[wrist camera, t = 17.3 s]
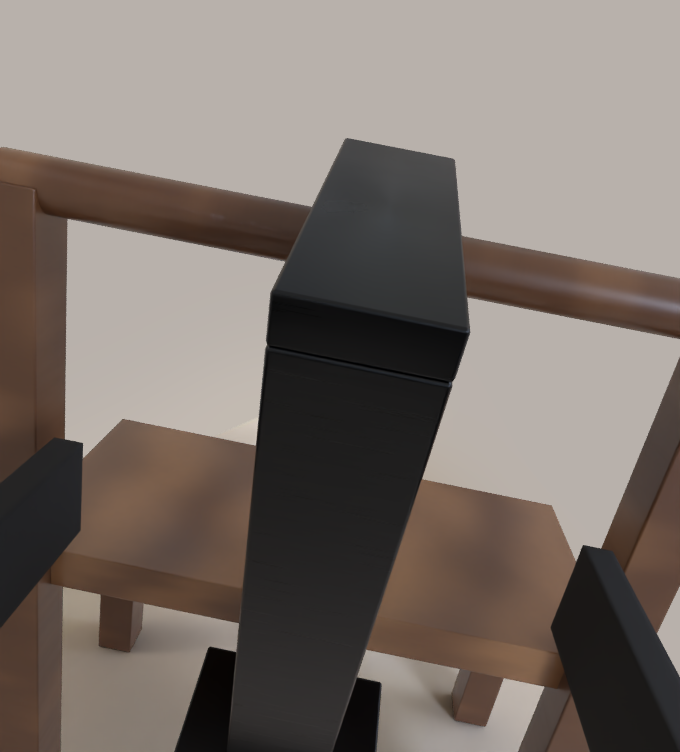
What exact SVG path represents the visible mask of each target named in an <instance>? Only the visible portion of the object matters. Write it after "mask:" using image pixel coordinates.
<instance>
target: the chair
mask: <svg viewBox="0 0 680 752" xmlns="http://www.w3.org/2000/svg"><path fill="white" fill-rule="evenodd" d="M311 208H312V207H309V206H304V205H299V204H294V203H289V202H284V201H279V200H274V199H268V198H263V197H258V196H252V195H248V194H243V193H238V192H232V191H227V190H222V189H217V188H212V187H207V186H202V185H197V184H191V183H186V182H181V181H175V180H171V179H165V178H160V177H155V176H150V175H145V174H140V173H135V172H130V171H125V170H119V169H114V168H109V167H103V166H99V165H93V164H88V163H83V162H78V161H73V160H67V159H63V158H58V157H52V156H47V155H42V154H36V153H32V152H27V151H22V150H16V149H11V148H6V147H1V148H0V483H1V482H2V481H3V480H5V479H6V478H7V477H8V476H9V475H10V474H12V473H13V472H14V471H15V470H16V469H18V468H19V467H20V466H21V465H22V464H23V463H25V462H26V461H27V460H28V459H29V458H30V457H32V456H33V455H34V454H35V453H36V452H37V451H39V450H40V449H41V448H42V447H43V446H45V445H46V444H47V443H48V442H49V441H50V440H52V439H53V438H54V437H55V438H60V439H65V366H66V361H65V360H66V284H67V283H66V282H67V219H71V220H76V221H81V222H87V223H92V224H97V225H102V226H107V227H112V228H117V229H122V230H127V231H132V232H137V233H142V234H147V235H153V236H158V237H163V238H168V239H173V240H178V241H183V242H188V243H194V244H198V245H204V246H209V247H214V248H219V249H224V250H229V251H234V252H239V253H244V254H250V255H255V256H260V257H264V258H270V259H275V260H280V261H285V262H286V260H287V258H288V256H289V254H290V251H291V249H292V247H293V245H294V243H295V241H296V239H297V237H298V235H299V233H300V231H301V229H302V227H303V225H304V223H305V221H306V218H307V216H308V214H309V212H310V210H311ZM462 246H463V257H464V268H465V280H466V291H467V297H468V298H473V299H478V300H484V301H489V302H494V303H499V304H504V305H509V306H514V307H519V308H524V309H529V310H535V311H540V312H545V313H550V314H555V315H560V316H565V317H570V318H575V319H580V320H586V321H590V322H596V323H601V324H606V325H611V326H616V327H621V328H626V329H631V330H637V331H641V332H647V333H652V334H657V335H662V336H667V337H672V338H677V339H680V278H675V277H669V276H664V275H659V274H654V273H649V272H644V271H638V270H633V269H628V268H623V267H618V266H613V265H608V264H603V263H597V262H592V261H587V260H582V259H577V258H572V257H567V256H561V255H556V254H551V253H546V252H541V251H535V250H531V249H525V248H520V247H515V246H510V245H505V244H499V243H495V242H490V241H484V240H479V239H474V238H469V237H464V236H462ZM255 452H256V446H254V445H249V444H244V443H239V442H234V441H229V440H224V439H220V438H215V437H210V436H205V435H199V434H195V433H190V432H185V431H180V430H175V429H170V428H165V427H160V426H155V425H150V424H145V423H140V422H135V421H130V420H125V419H122V420H121V421H120V422H119V424H117V425H116V426H115V427H114V429H112V430H111V431H110V432H109V433H108V434H107V435H106V436H105V437H104V438H103V439H102V440H101V441H100V442H99V443H98V444H97V445H96V446H95V447H94V448H93V449H92V450H91V451H90V452H89V453H88V454H87V455H86V456H85V457H84V458H83V461H82V501H81V531H80V532H79V533H78V534H77V536H76V537H75V538H74V539H73V541H72V542H71V543H70V544H69V545H68V547H67V548H66V549H65V550H64V552H63V553H62V554H61V555H60V556H59V558H58V559H57V560H56V561H55V562H54V564H53V565H52V566H51V567H50V569H49V570H48V571H47V572H46V573H45V575H44V576H43V577H42V578H41V580H40V581H39V582H38V583H37V584H36V586H35V587H34V588H33V589H32V590H31V592H30V593H29V594H28V595H27V597H26V598H25V599H24V600H23V601H22V603H21V604H20V605H19V606H18V608H17V609H16V610H15V611H14V612H13V614H12V615H11V616H10V617H9V619H8V620H7V621H6V622H5V623H4V625H3V626H2V627H1V628H0V752H61V693H62V611H63V587H67V588H72V589H77V590H82V591H86V592H91V593H96V594H101V603H100V627H99V646H102V647H107V648H111V649H116V650H121V651H126V652H130V650H131V648H132V646H133V645H134V643H135V641H136V639H137V637H138V635H139V633H140V631H141V629H142V619H143V605H144V604H149V605H154V606H159V607H164V608H168V609H173V610H178V611H183V612H188V613H193V614H197V615H202V616H207V617H212V618H217V619H221V620H226V621H231V622H236V623H239V619H240V609H241V598H242V588H243V577H244V567H245V556H246V546H247V535H248V525H249V515H250V504H251V494H252V483H253V473H254V462H255ZM601 549H605V550H610V551H613V553H614V554H615V556H616V558H617V560H618V562H619V564H620V566H621V568H622V569H623V571H624V573H625V575H626V577H627V579H628V581H629V583H630V585H631V586H632V588H633V590H634V592H635V594H636V596H637V598H638V600H639V601H640V603H641V605H642V607H643V609H644V611H645V613H646V615H647V617H648V618H649V620H650V622H651V624H652V626H653V628H654V630H655V632H656V633H657V632H658V630H659V628H660V626H661V624H662V622H663V620H664V617H665V615H666V613H667V611H668V609H669V607H670V605H671V603H672V601H673V599H674V596H675V595H676V593H677V591H678V588H679V586H680V358H679V360H678V363H677V365H676V368H675V370H674V372H673V375H672V377H671V380H670V382H669V385H668V387H667V390H666V392H665V394H664V397H663V399H662V402H661V404H660V407H659V409H658V412H657V414H656V416H655V419H654V421H653V424H652V426H651V429H650V431H649V433H648V436H647V439H646V441H645V443H644V446H643V448H642V451H641V453H640V455H639V458H638V460H637V463H636V465H635V468H634V470H633V473H632V475H631V477H630V480H629V483H628V485H627V488H626V490H625V493H624V494H623V497H622V500H621V502H620V504H619V507H618V509H617V512H616V514H615V516H614V519H613V521H612V524H611V526H610V529H609V531H608V534H607V536H606V538H605V541H604V543H603V546H602V548H601ZM575 564H576V561H575V558H574V556H573V554H572V551H571V549H570V547H569V545H568V542H567V540H566V538H565V536H564V533H563V531H562V528H561V526H560V524H559V521H558V519H557V517H556V514H555V512H554V510H553V507H552V506H551V505H546V504H541V503H536V502H531V501H526V500H521V499H517V498H511V497H506V496H502V495H497V494H492V493H487V492H482V491H477V490H472V489H467V488H462V487H457V486H452V485H447V484H442V483H437V482H432V481H427V480H421V483H420V487H419V490H418V493H417V496H416V499H415V502H414V505H413V508H412V511H411V514H410V517H409V520H408V523H407V526H406V529H405V532H404V535H403V538H402V541H401V544H400V547H399V551H398V554H397V557H396V560H395V563H394V566H393V569H392V572H391V575H390V578H389V581H388V584H387V587H386V590H385V593H384V596H383V599H382V602H381V605H380V608H379V611H378V615H377V618H376V621H375V624H374V627H373V630H372V633H371V636H370V639H369V642H368V645H367V648H366V650H371V651H376V652H381V653H385V654H390V655H395V656H400V657H405V658H409V659H414V660H419V661H424V662H429V663H434V664H438V665H443V666H448V667H453V668H458V669H460V670H459V673H458V676H457V679H456V682H455V685H454V688H453V691H452V702H453V712H454V720H456V721H461V722H466V723H471V724H475V725H480V726H486V724H487V722H488V719H489V716H490V714H491V711H492V708H493V706H494V703H495V700H496V698H497V695H498V692H499V689H500V687H501V684H502V681H503V679H504V678H506V679H511V680H516V681H520V682H525V683H530V684H535V685H540V686H544V690H543V692H542V695H541V697H540V699H539V702H538V704H537V707H536V709H535V712H534V714H533V717H532V719H531V721H530V724H529V726H528V729H527V731H526V734H525V736H524V738H523V741H522V743H521V746H520V748H519V751H518V752H590V751H589V747H588V744H587V741H586V738H585V735H584V732H583V729H582V725H581V722H580V719H579V716H578V713H577V710H576V707H575V703H574V700H573V697H572V694H571V691H570V688H569V685H568V681H567V678H566V675H565V672H564V669H563V666H562V663H561V659H560V656H559V653H558V650H557V647H556V644H555V640H554V637H553V634H552V631H551V628H550V627H551V625H552V622H553V619H554V617H555V614H556V612H557V609H558V607H559V604H560V602H561V599H562V597H563V594H564V592H565V589H566V587H567V584H568V582H569V579H570V577H571V574H572V572H573V569H574V567H575Z"/></svg>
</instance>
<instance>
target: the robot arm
mask: <svg viewBox="0 0 680 752" xmlns="http://www.w3.org/2000/svg"><path fill="white" fill-rule="evenodd" d="M82 461H83V443H79V442H75V441H70V440H65V439H60V438H55V437H54V438H53V439H52V440H50V441H49V442H48V443H47V444H46V445H45V446H43V447H42V448H41V449H40V450H39V451H37V452H36V453H35V454H34V455H33V456H32V457H30V458H29V459H28V460H27V461H26V462H25V463H23V464H22V465H21V466H20V467H19V468H18V469H16V470H15V471H14V472H13V473H12V474H10V475H9V476H8V477H7V478H6V479H5V480H3V481H2V482H1V483H0V628H1V627H2V626H3V625H4V623H5V622H6V621H7V620H8V619H9V617H10V616H11V615H12V614H13V612H14V611H15V610H16V609H17V608H18V606H19V605H20V604H21V603H22V601H23V600H24V599H25V598H26V597H27V595H28V594H29V593H30V592H31V590H32V589H33V588H34V587H35V586H36V584H37V583H38V582H39V581H40V580H41V578H42V577H43V576H44V575H45V573H46V572H47V571H48V570H49V569H50V567H51V566H52V565H53V564H54V562H55V561H56V560H57V559H58V558H59V556H60V555H61V554H62V553H63V552H64V550H65V549H66V548H67V547H68V545H69V544H70V543H71V542H72V541H73V539H74V538H75V537H76V536H77V534H78V533H79V532H80V531H81V501H82ZM550 628H551V631H552V634H553V637H554V640H555V644H556V647H557V650H558V653H559V656H560V659H561V663H562V666H563V669H564V672H565V675H566V678H567V681H568V685H569V688H570V691H571V694H572V697H573V700H574V703H575V707H576V710H577V713H578V716H579V719H580V722H581V725H582V729H583V732H584V735H585V738H586V741H587V744H588V747H589V751H590V752H680V677H679V675H678V673H677V671H676V669H675V667H674V665H673V664H672V662H671V660H670V658H669V656H668V654H667V652H666V650H665V649H664V647H663V645H662V643H661V641H660V639H659V637H658V635H657V633H656V632H655V630H654V628H653V626H652V624H651V622H650V620H649V618H648V617H647V615H646V613H645V611H644V609H643V607H642V605H641V603H640V601H639V600H638V598H637V596H636V594H635V592H634V590H633V588H632V586H631V585H630V583H629V581H628V579H627V577H626V575H625V573H624V571H623V569H622V568H621V566H620V564H619V562H618V560H617V558H616V556H615V554H614V553H613V551H610V550H605V549H600V548H595V547H590V546H585V545H583V547H582V549H581V552H580V555H579V557H578V559H577V562H576V564H575V567H574V569H573V572H572V574H571V577H570V579H569V582H568V584H567V587H566V589H565V592H564V594H563V597H562V599H561V602H560V604H559V607H558V609H557V612H556V614H555V617H554V619H553V622H552V625H551V627H550Z"/></svg>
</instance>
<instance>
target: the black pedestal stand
mask: <svg viewBox="0 0 680 752" xmlns="http://www.w3.org/2000/svg"><path fill="white" fill-rule="evenodd" d="M469 335H470V325H469V314H468V302H467V291H466V280H465V268H464V257H463V246H462V235H461V224H460V212H459V201H458V191H457V179H456V168H455V160H454V159H451V158H447V157H441V156H436V155H431V154H426V153H421V152H415V151H410V150H405V149H400V148H395V147H390V146H385V145H380V144H374V143H369V142H364V141H359V140H354V139H348V138H347V139H345V140H344V142H343V145H342V147H341V148H340V150H339V153H338V155H337V157H336V159H335V161H334V163H333V165H332V167H331V169H330V171H329V173H328V175H327V177H326V179H325V182H324V183H323V186H322V188H321V190H320V192H319V194H318V196H317V198H316V200H315V202H314V204H313V206H312V208H311V210H310V212H309V214H308V216H307V218H306V221H305V223H304V225H303V227H302V229H301V231H300V233H299V235H298V237H297V239H296V241H295V243H294V245H293V247H292V249H291V251H290V254H289V256H288V258H287V260H286V262H285V264H284V266H283V268H282V270H281V272H280V274H279V276H278V279H277V280H276V283H275V285H274V287H273V289H272V291H271V293H270V304H269V314H268V324H267V335H266V342H267V346H266V349H265V358H264V368H263V378H262V389H261V399H260V410H259V420H258V431H257V441H256V452H255V462H254V473H253V483H252V494H251V504H250V515H249V525H248V535H247V546H246V556H245V567H244V577H243V588H242V598H241V609H240V619H239V630H238V640H237V651H236V652H233V651H228V650H224V649H219V648H214V647H209V648H208V650H207V653H206V656H205V659H204V663H203V666H202V669H201V672H200V675H199V678H198V681H197V684H196V687H195V690H194V693H193V696H192V699H191V702H190V705H189V708H188V711H187V714H186V718H185V721H184V724H183V727H182V730H181V733H180V736H179V739H178V742H177V745H176V748H175V751H174V752H377V739H378V725H379V712H380V698H381V683H380V682H376V681H371V680H366V679H362V678H357V675H358V672H359V669H360V666H361V663H362V660H363V657H364V654H365V651H366V648H367V645H368V642H369V639H370V636H371V633H372V630H373V627H374V624H375V621H376V618H377V615H378V611H379V608H380V605H381V602H382V599H383V596H384V593H385V590H386V587H387V584H388V581H389V578H390V575H391V572H392V569H393V566H394V563H395V560H396V557H397V554H398V551H399V547H400V544H401V541H402V538H403V535H404V532H405V529H406V526H407V523H408V520H409V517H410V514H411V511H412V508H413V505H414V502H415V499H416V496H417V493H418V490H419V487H420V483H421V480H422V477H423V474H424V471H425V468H426V465H427V462H428V459H429V456H430V453H431V450H432V447H433V443H434V440H435V438H436V435H437V432H438V429H439V426H440V422H441V419H442V416H443V413H444V410H445V407H446V404H447V401H448V398H449V395H450V392H451V389H452V381H453V380H454V379H455V377H456V374H457V371H458V368H459V365H460V362H461V359H462V356H463V353H464V350H465V347H466V344H467V341H468V337H469Z"/></svg>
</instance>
